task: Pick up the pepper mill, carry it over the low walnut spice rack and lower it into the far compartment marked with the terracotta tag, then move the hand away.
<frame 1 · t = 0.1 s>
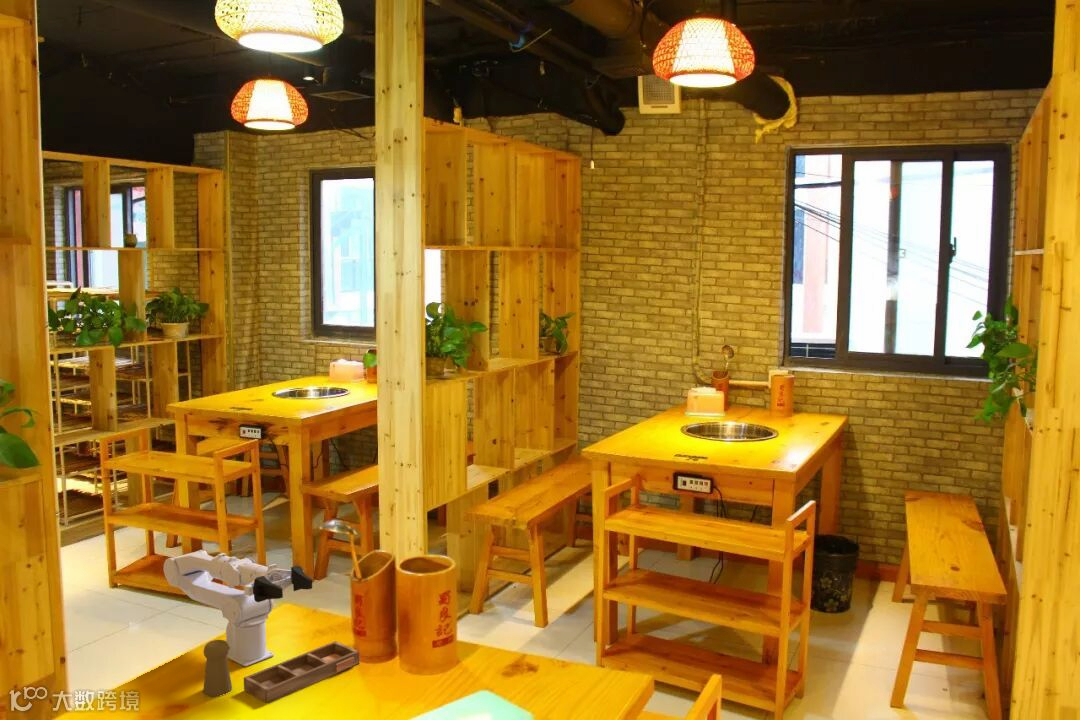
hand: (296, 588, 200), 22 cm above the table, tool horizontal, fingers open, 7 cm apart
pepper mill: (217, 691, 198), on the table
spice rack: (303, 676, 205), on the table
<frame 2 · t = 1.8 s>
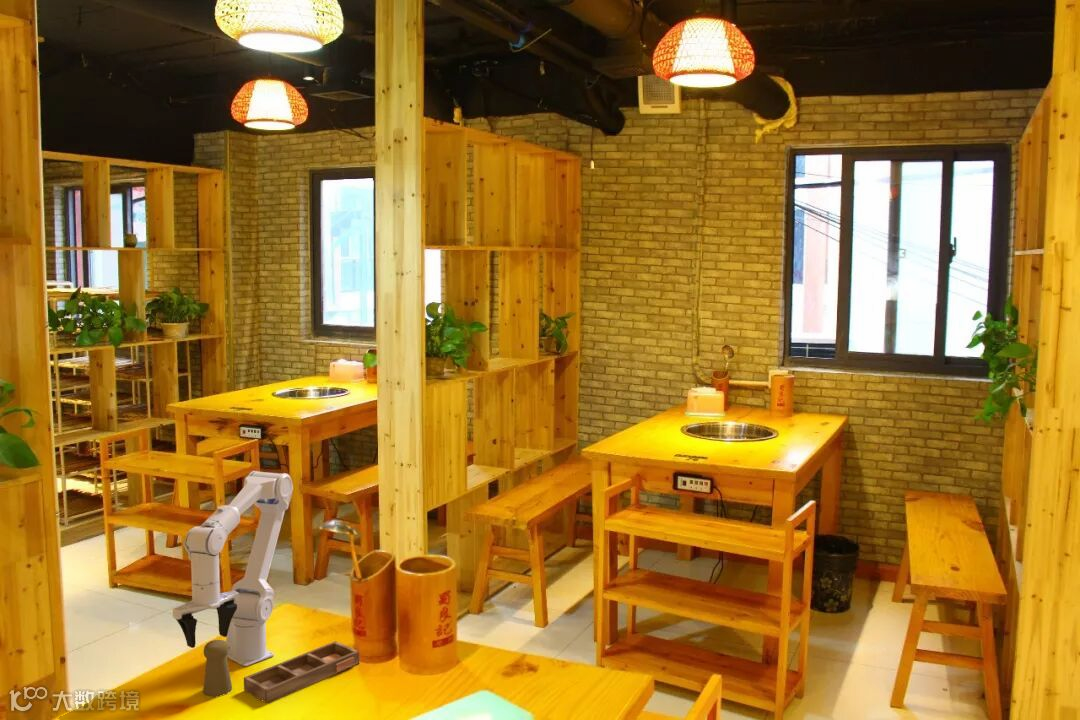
hand: (207, 640, 199), 10 cm above the table, tool pointing down, fingers open, 7 cm apart
nothing on the table moved.
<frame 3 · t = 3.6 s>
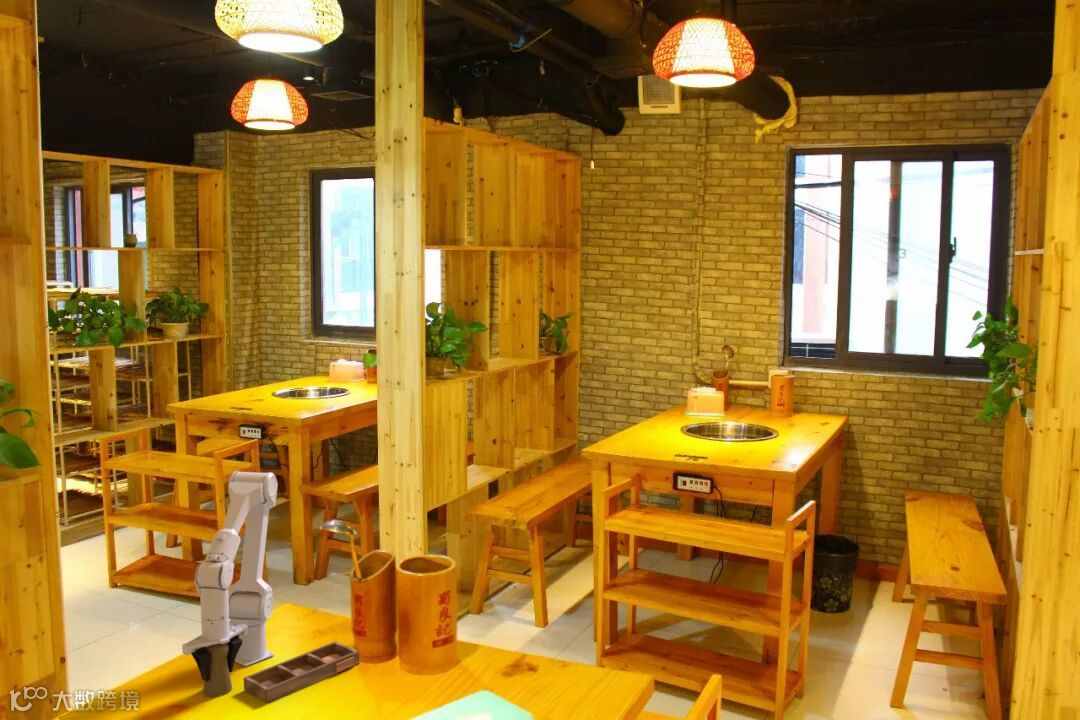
hand: (217, 675, 198), 3 cm above the table, tool pointing down, fingers closed on pepper mill, 5 cm apart
pepper mill: (217, 691, 198), on the table, touching gripper
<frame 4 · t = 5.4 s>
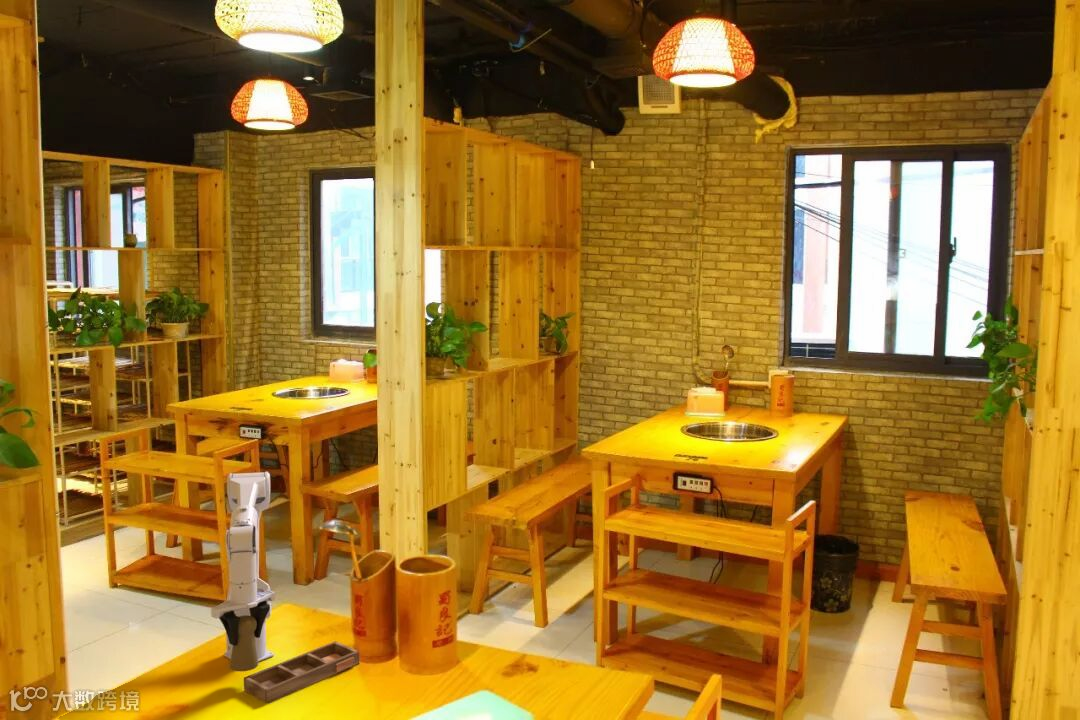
hand: (244, 640, 199), 10 cm above the table, tool pointing down, fingers closed on pepper mill, 5 cm apart
pepper mill: (244, 666, 200), point 4 cm above the table, touching gripper
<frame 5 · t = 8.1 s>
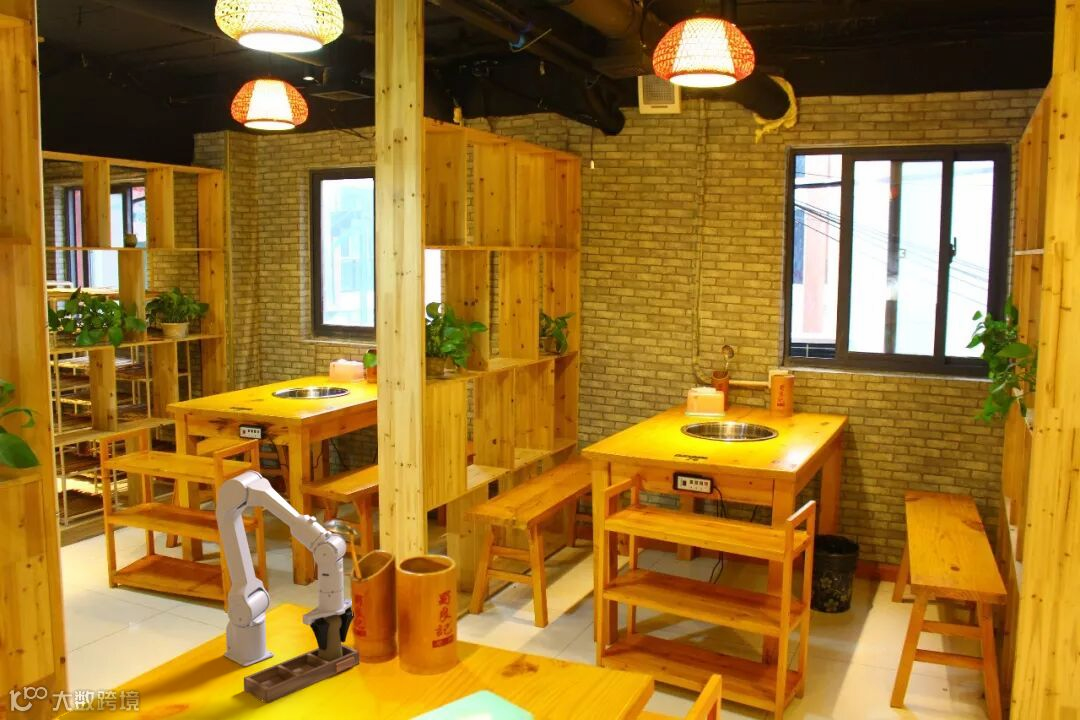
hand: (331, 644, 210), 5 cm above the table, tool pointing down, fingers closed on pepper mill, 5 cm apart
pepper mill: (330, 662, 211), point 1 cm above the table, touching gripper, spice rack
when the fingers open (5 cm above the table, at t = 8.4 s): pepper mill stays where it is, resting on spice rack.
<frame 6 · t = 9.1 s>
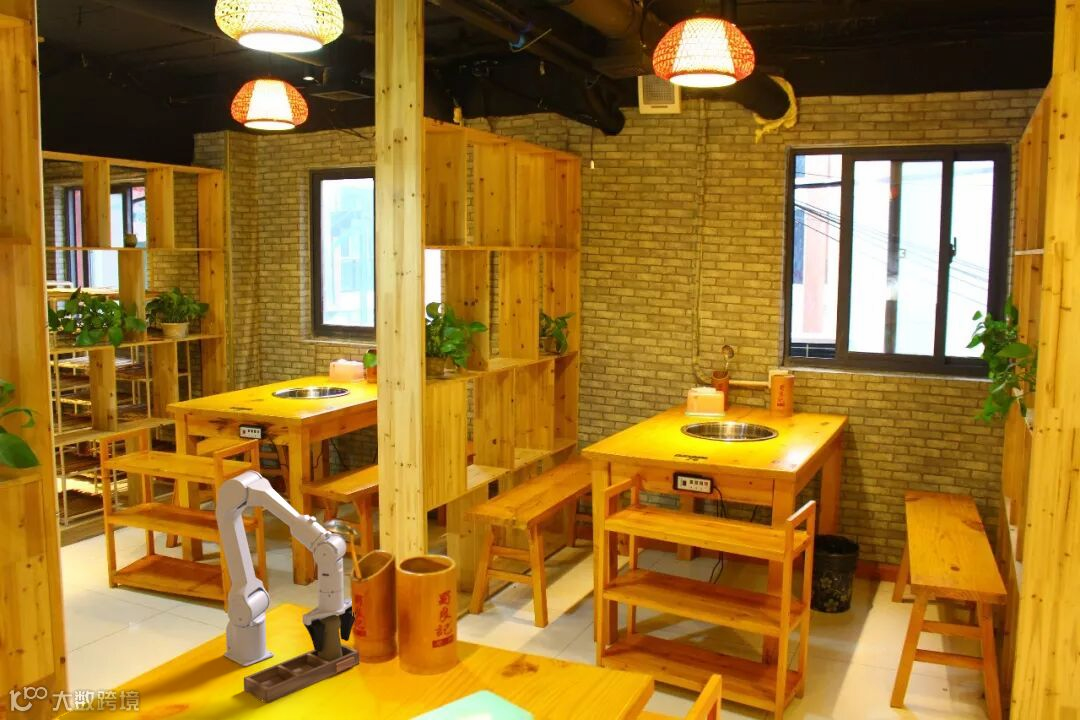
hand: (331, 644, 210), 5 cm above the table, tool pointing down, fingers open, 7 cm apart
pepper mill: (330, 662, 211), point 1 cm above the table, touching spice rack
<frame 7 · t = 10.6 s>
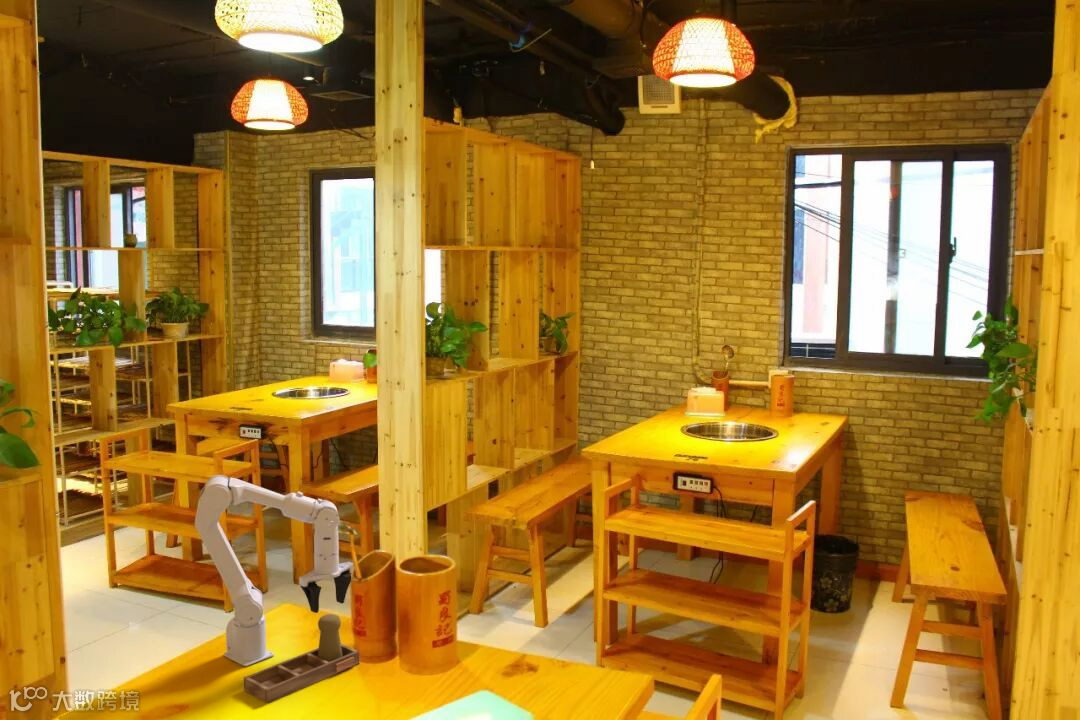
hand: (327, 606, 218), 10 cm above the table, tool pointing down, fingers open, 7 cm apart
nothing on the table moved.
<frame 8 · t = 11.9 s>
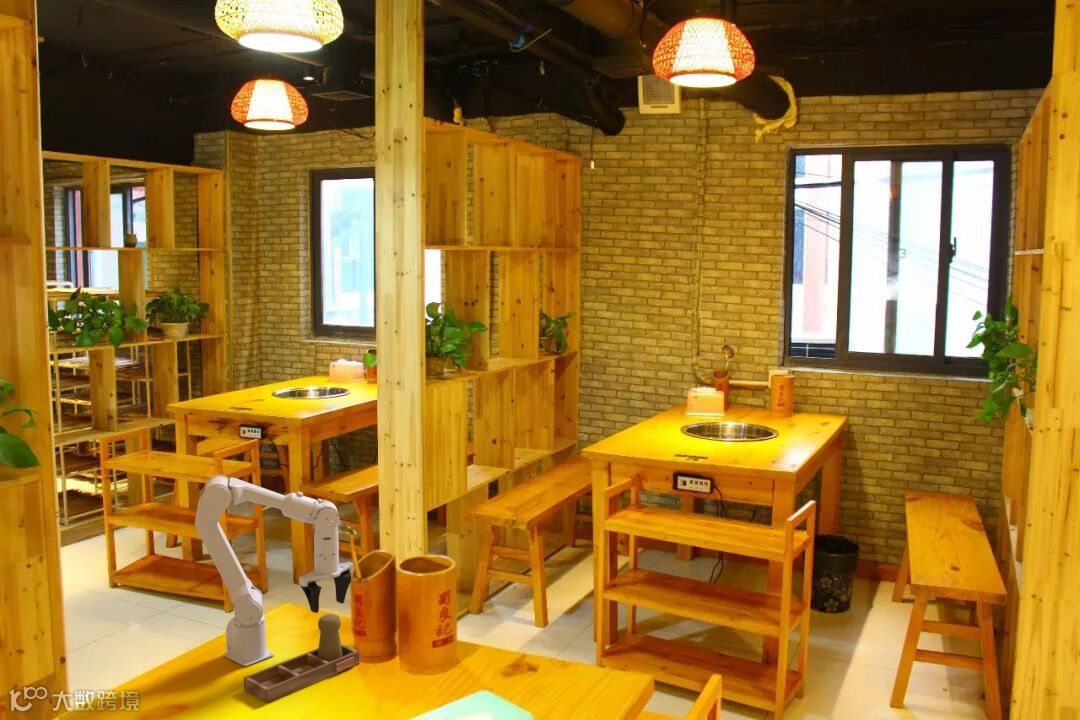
hand: (327, 606, 218), 10 cm above the table, tool pointing down, fingers open, 7 cm apart
nothing on the table moved.
at the end: pepper mill 0.5 cm from the target spot on the spice rack, point 0.5 cm above the spice rack's base; pepper mill tilted 0°; the gripper is holding nothing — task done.
